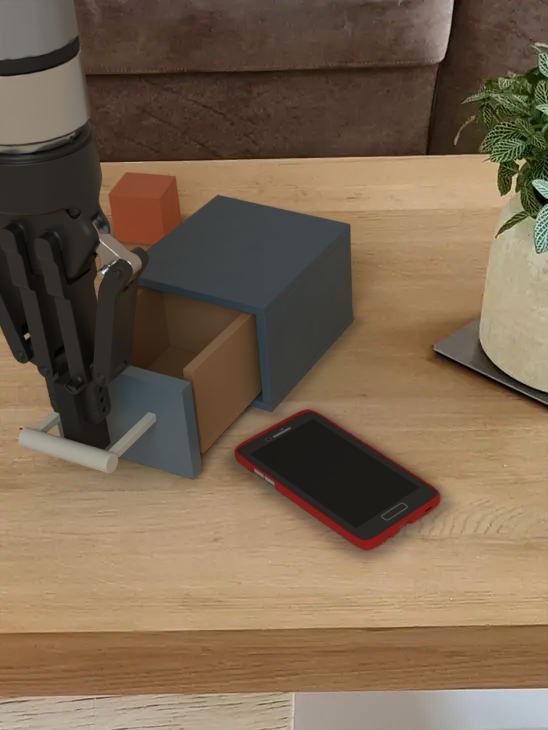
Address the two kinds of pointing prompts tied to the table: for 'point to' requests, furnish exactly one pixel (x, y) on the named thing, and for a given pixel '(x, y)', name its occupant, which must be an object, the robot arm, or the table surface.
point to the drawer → (169, 388)
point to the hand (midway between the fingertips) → (90, 451)
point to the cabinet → (263, 280)
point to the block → (144, 207)
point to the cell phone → (338, 478)
